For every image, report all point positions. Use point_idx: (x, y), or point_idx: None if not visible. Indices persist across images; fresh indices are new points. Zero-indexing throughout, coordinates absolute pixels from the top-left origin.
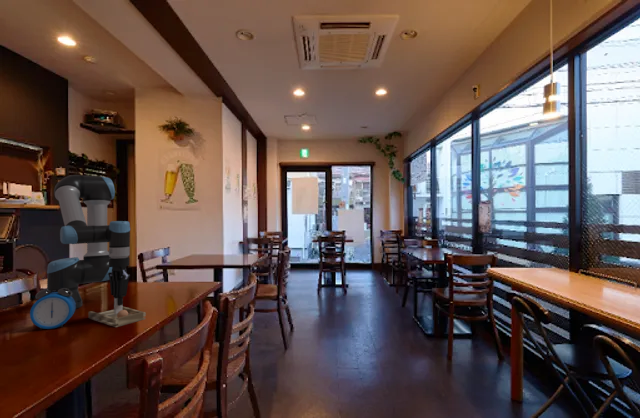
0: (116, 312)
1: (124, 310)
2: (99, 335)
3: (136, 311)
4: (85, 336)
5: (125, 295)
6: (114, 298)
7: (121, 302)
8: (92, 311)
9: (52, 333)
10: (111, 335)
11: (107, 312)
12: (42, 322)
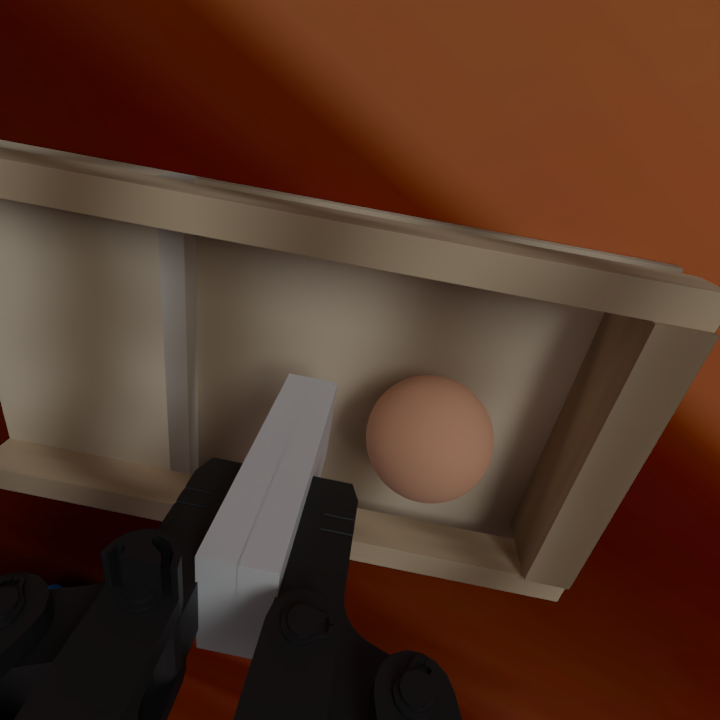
0: (325, 457)
1: (456, 473)
2: (565, 658)
3: (510, 291)
4: (483, 678)
5: (443, 689)
6: (208, 633)
7: (351, 538)
8: (3, 470)
9: (227, 674)
10: (661, 648)
11: (43, 328)
12: None
